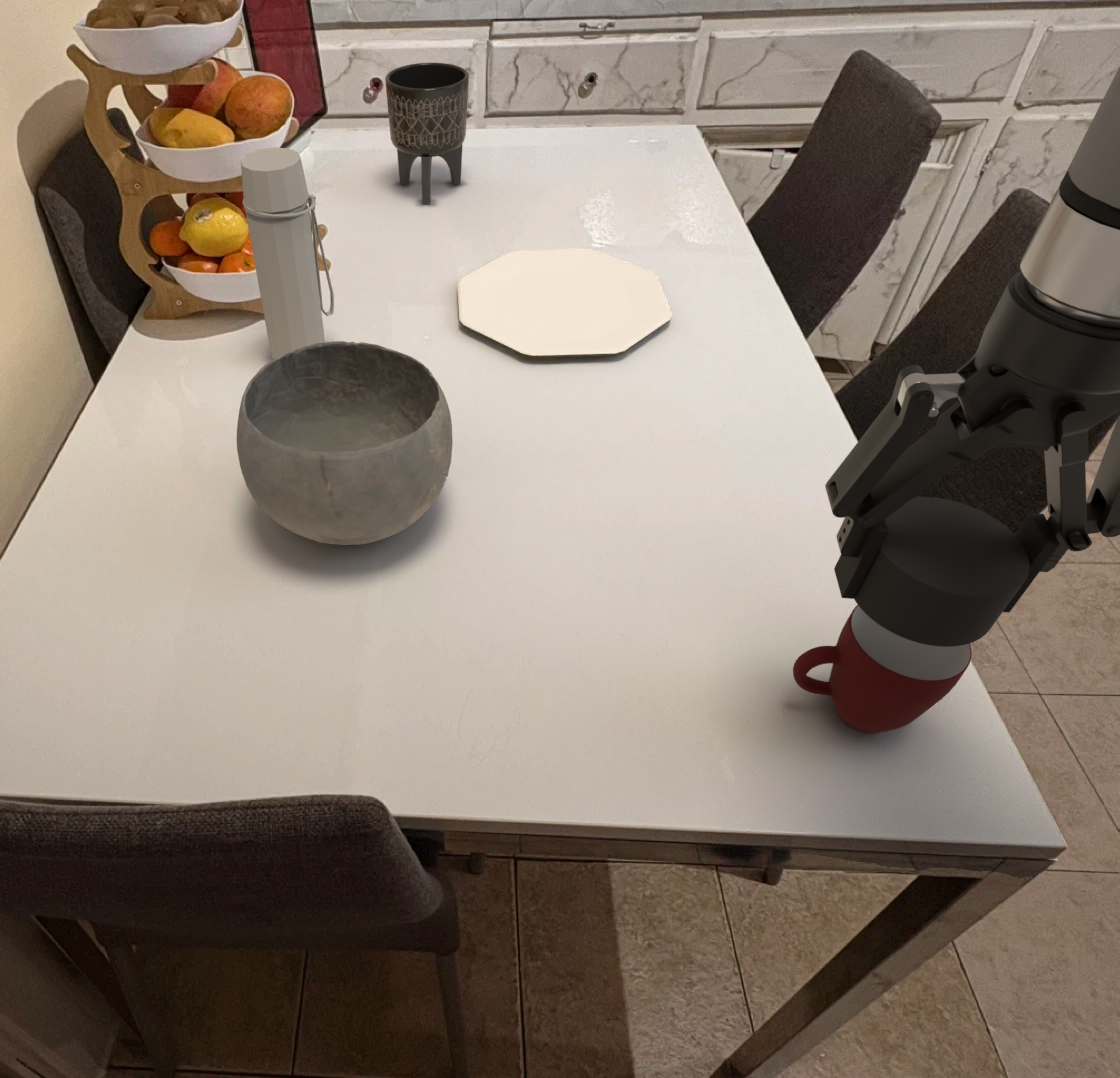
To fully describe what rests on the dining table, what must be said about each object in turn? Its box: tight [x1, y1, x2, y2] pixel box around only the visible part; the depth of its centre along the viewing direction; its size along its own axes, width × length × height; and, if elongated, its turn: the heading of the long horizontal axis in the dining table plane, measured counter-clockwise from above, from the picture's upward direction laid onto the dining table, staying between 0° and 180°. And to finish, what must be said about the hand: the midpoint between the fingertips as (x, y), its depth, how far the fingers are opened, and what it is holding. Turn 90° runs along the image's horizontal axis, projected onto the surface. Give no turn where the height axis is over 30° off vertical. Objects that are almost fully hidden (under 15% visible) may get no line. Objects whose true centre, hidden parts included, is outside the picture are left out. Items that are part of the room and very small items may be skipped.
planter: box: [384, 62, 470, 205], centre depth 136 cm, size 13×13×18 cm
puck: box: [853, 496, 1030, 647], centre depth 56 cm, size 9×9×5 cm
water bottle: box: [240, 147, 335, 361], centre depth 99 cm, size 9×8×25 cm
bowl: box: [236, 340, 454, 546], centre depth 82 cm, size 20×20×15 cm
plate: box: [456, 247, 673, 358], centre depth 113 cm, size 28×28×2 cm
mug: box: [792, 604, 973, 734], centre depth 64 cm, size 10×8×10 cm
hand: (919, 589), depth 57 cm, fingers closed on puck, 9 cm apart
